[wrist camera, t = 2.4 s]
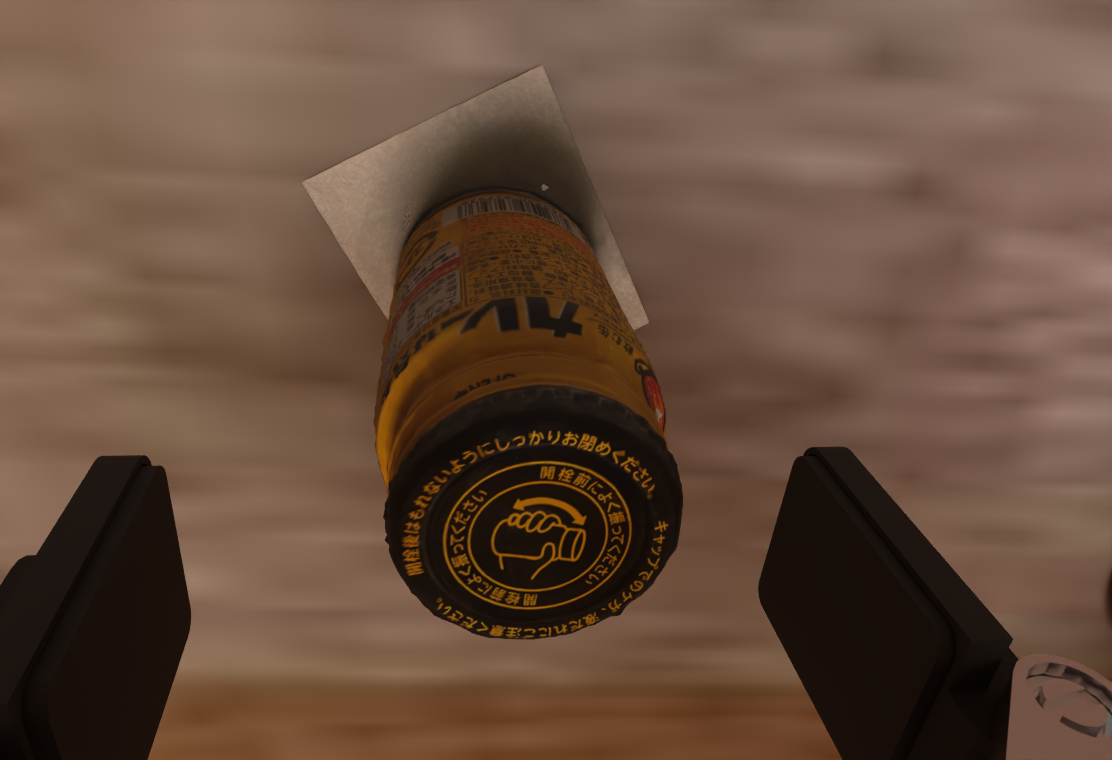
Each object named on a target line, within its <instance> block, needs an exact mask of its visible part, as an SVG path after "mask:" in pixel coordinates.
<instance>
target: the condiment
mask: <svg viewBox="0 0 1112 760" xmlns="http://www.w3.org/2000/svg"><path fill="white" fill-rule="evenodd" d="M544 183H545V184H546V185H547V186H548V187H549V189H547V190H545V191H543V190H542V188H541V186H542V185H543V184H544ZM302 184H303V186H304V187H305V189H306V190H307V192H308V194H309V195H310V197H311V198H312V200H313V202H314V204H315V206H316V207H317V209H318V210H319V212H320V214H321V215H322V217H323V218H324V220H325V221H326V223H327V224H328V226H329V227H330V229H331V231H332V232H333V234H334V236H335V238H336V239H337V241H338V243H339V245H340V246H341V248H342V249H343V251H344V252H345V253H346V255H347V256H348V258H349V259H350V261H351V263H352V264H353V266H354V268H355V270H356V271H357V273H358V275H359V277H360V278H361V280H362V281H363V282H364V284H365V285H366V287H367V289H368V290H369V292H370V294H371V295H372V297H373V298H374V300H375V301H376V303H377V304H378V306H379V307H380V309H381V310H382V312H383V313H384V315H385V317H386V318H387V320H388V327H387V331H386V334H385V337H384V339H383V345H384V351H383V354H382V357H381V358H382V367H381V374H380V379H379V382H378V390H377V401H376V406H375V417H374V425H375V431H376V442H375V448H376V453H377V456H378V463H379V466H380V470H381V473H382V476H383V479H384V481H385V484H386V486H387V493H388V498H387V500H386V503H385V511H384V516H383V518H384V519H385V530H386V533H387V536H386V539H385V541H386V542H387V543H388V544H389V552H390V555H391V558H392V561H393V563H394V565H395V567H396V569H397V571H398V573H399V574H400V576H401V577H402V579H403V580H404V581H405V583H406V584H407V586H408V587H409V589H410V591H411V593H412V594H414V595H415V596H417V598H418V599H419V600H420V601H421V603H422V604H423V605H424V606H425V607H426V608H428V609H429V610H430V611H431V612H432V613H433V615H435V616H437V617H439V618H441V619H443V620H446V621H449V622H451V623H454V624H456V625H458V626H460V627H463V628H464V629H466V630H468V631H470V632H471V633H473V634H477V635H480V636H484V637H488V638H503V639H539V638H546V637H556V636H559V635H566V634H570V633H574V632H576V631H578V630H580V629H583V628H585V627H587V626H592V625H595V624H597V623H599V622H600V621H602V620H604V619H606V618H608V617H610V616H618V615H620V614H621V613H622V612H623V610H624V608H625V607H626V606H627V605H628V604H629V603H630V602H632V601H633V600H635V599H636V598H638V597H639V596H641V595H642V594H643V593H644V592H645V591H646V590H647V589H648V588H649V587H650V586H651V585H652V584H653V583H654V581H655V579H656V577H657V576H658V575H659V574H660V572H661V571H662V569H663V568H664V566H665V564H666V562H667V560H668V559H669V557H670V556H671V555H672V554H673V552H674V551H675V550H676V548H677V544H678V538H679V532H680V525H681V517H682V507H683V494H682V484H681V482H680V477H679V473H678V470H677V464H676V462H675V460H674V457H673V455H672V454H671V453H670V452H669V451H668V448H667V443H666V439H665V430H666V411H665V407H664V403H663V399H662V395H661V390H660V386H659V385H658V382H657V379H656V376H655V374H654V371H653V369H652V366H651V363H650V360H649V358H648V357H647V355H646V352H645V351H644V350H643V348H642V345H641V343H640V342H639V341H638V339H637V336H636V334H635V333H634V331H633V330H635V329H638V328H640V327H642V326H644V325H646V324H648V323H649V320H648V318H647V316H646V313H645V311H644V308H643V306H642V304H641V301H640V299H639V296H638V294H637V292H636V289H635V287H634V285H633V282H632V280H631V277H630V275H629V273H628V270H627V268H626V266H625V263H624V260H623V258H622V256H621V254H620V251H619V249H618V246H617V244H616V241H615V239H614V237H613V234H612V232H611V229H610V227H609V225H608V222H607V220H606V217H605V215H604V213H603V210H602V208H601V205H600V202H599V200H598V198H597V196H596V193H595V191H594V188H593V186H592V183H591V181H590V179H589V177H588V174H587V172H586V169H585V167H584V164H583V162H582V160H581V157H580V154H579V152H578V150H577V148H576V145H575V143H574V140H573V138H572V135H571V133H570V130H569V128H568V126H567V124H566V121H565V119H564V116H563V114H562V111H561V109H560V107H559V104H558V101H557V99H556V97H555V94H554V92H553V90H552V87H551V85H550V82H549V80H548V78H547V75H546V73H545V70H544V68H543V66H542V65H541V66H539V67H536V68H534V69H532V70H530V71H528V72H526V73H524V74H522V75H520V76H518V77H516V78H514V79H511V80H509V81H506V82H504V83H502V84H500V85H498V86H496V87H494V88H492V89H490V90H488V91H486V92H484V93H482V94H480V95H478V96H476V97H474V98H472V99H470V100H468V101H466V102H464V103H462V104H459V105H457V106H454V107H452V108H451V109H449V110H447V111H445V112H443V113H441V114H439V115H437V116H434V117H432V118H430V119H428V120H426V121H424V122H422V123H420V124H418V125H416V126H414V127H412V128H410V129H408V130H406V131H403V132H402V133H401V134H397V135H395V136H393V137H392V138H390V139H388V140H386V141H384V142H382V143H380V144H378V145H377V146H375V147H372V148H370V149H368V150H366V151H364V152H362V153H360V154H358V155H355V156H353V157H351V158H349V159H347V160H345V161H343V162H342V163H340V164H338V165H336V166H334V167H332V168H330V169H328V170H326V171H324V172H322V173H320V174H318V175H316V176H314V177H312V178H310V179H307V180H305V181H303V182H302ZM409 204H410V205H412V212H411V215H410V216H409V217H408V218H407V217H405V206H407V205H409ZM406 220H408V221H409V222H410V226H409V228H408V229H407V230H404V231H403V228H402V226H403V224H404V221H406Z"/></svg>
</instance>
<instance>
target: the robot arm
mask: <svg viewBox="0 0 1112 760" xmlns="http://www.w3.org/2000/svg"><path fill="white" fill-rule="evenodd" d="M758 591H759V598H760V602H761V605H762V607H763V609H764V611H765V613H766V615H767V617H768V619H769V620H770V622H771V624H772V626H773V628H774V630H775V632H776V634H777V636H778V638H779V639H780V641H781V643H782V645H783V647H784V649H785V651H786V653H787V655H788V657H789V658H790V660H791V662H792V664H793V666H794V668H795V670H796V672H797V674H798V676H799V678H800V679H801V681H802V683H803V685H804V687H805V689H806V691H807V693H808V695H809V697H810V698H811V700H812V702H813V704H814V706H815V708H816V710H817V712H818V714H819V716H820V717H821V719H822V721H823V723H824V725H825V727H826V729H827V731H828V733H829V735H830V737H831V738H832V740H833V742H834V744H835V746H836V748H837V750H838V752H839V754H840V756H841V757H842V759H843V760H1112V682H1111V681H1109V680H1108V679H1106V678H1105V677H1103V676H1102V675H1101V674H1099V673H1098V672H1096V671H1095V670H1093V669H1091V668H1089V667H1087V666H1085V665H1083V664H1081V663H1079V662H1077V661H1074V660H1071V659H1068V658H1065V657H1062V656H1059V655H1053V654H1045V653H1036V654H1030V655H1026V656H1024V657H1023V658H1021V659H1020V660H1019V659H1018V658H1017V657H1016V656H1015V655H1014V653H1013V652H1012V651H1011V650H1010V649H1009V646H1010V644H1011V642H1012V640H1013V638H1012V637H1011V636H1010V635H1009V633H1008V632H1007V631H1006V630H1005V629H1004V628H1003V627H1002V625H1001V624H1000V623H999V622H998V621H997V620H996V618H995V617H994V616H993V615H992V614H991V613H990V611H989V610H988V609H987V608H986V607H985V606H984V605H983V603H982V602H981V601H980V600H979V599H978V598H977V596H976V595H975V594H974V593H973V592H972V591H971V589H970V588H969V587H968V586H967V585H966V584H965V583H964V581H963V580H962V579H961V578H960V577H959V576H958V574H957V573H956V572H955V571H954V570H953V569H952V567H951V566H950V565H949V564H948V563H947V562H946V561H945V559H944V558H943V557H942V556H941V555H940V554H939V552H938V551H937V550H936V549H935V548H934V547H933V545H932V544H931V543H930V542H929V541H928V540H927V539H926V537H925V536H924V535H923V534H922V533H921V532H920V530H919V529H918V528H917V527H916V526H915V525H914V523H913V522H912V521H911V520H910V519H909V518H908V517H907V515H906V514H905V513H904V512H903V511H902V510H901V508H900V507H899V506H898V505H897V504H896V503H895V501H894V500H893V499H892V498H891V497H890V496H889V495H888V493H887V492H886V491H885V490H884V489H883V488H882V486H881V485H880V484H879V483H878V482H877V481H876V479H875V478H874V477H873V476H872V475H871V474H870V473H869V471H868V470H867V469H866V468H865V467H864V466H863V464H862V463H861V462H860V461H859V460H858V459H857V457H856V456H855V455H854V454H853V453H852V452H851V451H850V450H849V449H848V448H845V447H811V448H809V449H807V450H806V452H805V453H804V455H803V456H800V457H797V458H796V460H795V461H794V464H793V466H792V470H791V473H790V477H789V480H788V484H787V487H786V491H785V494H784V497H783V501H782V504H781V508H780V511H779V515H778V518H777V522H776V525H775V528H774V532H773V535H772V539H771V542H770V546H769V549H768V553H767V556H766V559H765V563H764V566H763V570H762V573H761V577H760V580H759V587H758ZM190 624H191V608H190V602H189V597H188V591H187V586H186V580H185V575H184V569H183V564H182V558H181V553H180V547H179V542H178V536H177V531H176V526H175V520H174V515H173V509H172V504H171V498H170V493H169V487H168V482H167V476H166V472H165V469H164V468H163V467H162V466H152V465H151V462H150V460H149V458H148V457H147V456H145V455H137V456H101V457H98V458H97V459H96V460H95V462H94V463H93V465H92V466H91V468H90V470H89V471H88V473H87V474H86V476H85V478H84V479H83V481H82V482H81V484H80V486H79V487H78V489H77V490H76V492H75V494H74V495H73V497H72V498H71V500H70V502H69V503H68V505H67V506H66V508H65V510H64V511H63V513H62V514H61V516H60V518H59V519H58V521H57V522H56V524H55V526H54V527H53V529H52V530H51V532H50V534H49V535H48V537H47V538H46V540H45V542H44V543H43V545H42V546H41V548H40V550H39V551H38V553H37V555H29V556H25V557H23V558H21V559H19V560H18V561H17V562H16V564H15V565H14V566H13V567H12V568H11V570H10V571H9V573H8V574H7V576H6V577H5V579H4V580H3V582H2V584H1V585H0V760H147V759H148V756H149V753H150V750H151V747H152V744H153V741H154V738H155V735H156V732H157V729H158V726H159V723H160V720H161V717H162V714H163V711H164V708H165V705H166V702H167V699H168V696H169V693H170V690H171V687H172V684H173V681H174V678H175V675H176V672H177V669H178V666H179V662H180V659H181V656H182V653H183V650H184V647H185V644H186V641H187V638H188V635H189V631H190Z"/></svg>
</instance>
